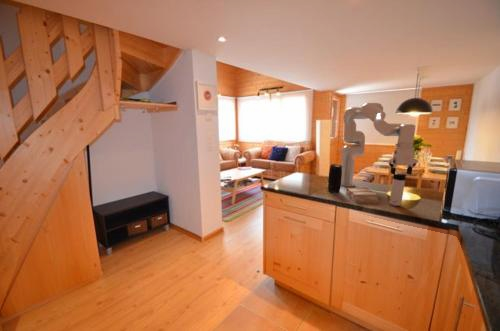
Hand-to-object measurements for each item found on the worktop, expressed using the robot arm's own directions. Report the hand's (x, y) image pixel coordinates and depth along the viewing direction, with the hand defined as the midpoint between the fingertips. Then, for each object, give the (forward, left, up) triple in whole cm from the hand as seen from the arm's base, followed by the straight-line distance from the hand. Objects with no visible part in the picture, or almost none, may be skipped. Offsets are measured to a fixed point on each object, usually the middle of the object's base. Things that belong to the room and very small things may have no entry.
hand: (400, 174), depth 135 cm
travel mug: (0, 0, -20) cm, 20 cm away
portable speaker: (-25, -29, -20) cm, 44 cm away
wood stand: (-11, -16, -20) cm, 28 cm away
